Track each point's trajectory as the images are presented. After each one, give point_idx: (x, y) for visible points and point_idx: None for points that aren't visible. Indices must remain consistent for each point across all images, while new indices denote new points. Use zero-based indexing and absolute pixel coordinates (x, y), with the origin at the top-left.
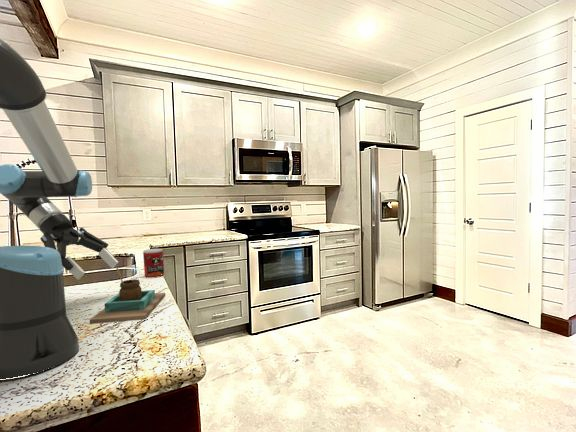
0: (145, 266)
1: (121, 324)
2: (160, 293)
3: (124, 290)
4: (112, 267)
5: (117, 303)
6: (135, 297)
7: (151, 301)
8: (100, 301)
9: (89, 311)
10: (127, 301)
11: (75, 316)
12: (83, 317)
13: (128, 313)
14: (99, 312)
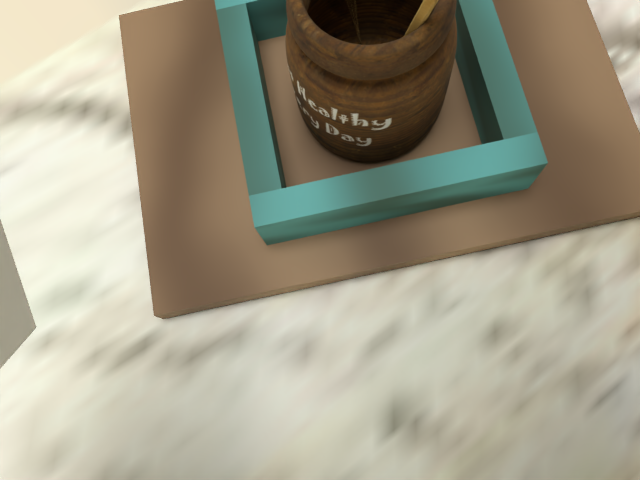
0: None
1: (637, 14)
2: (134, 36)
3: (453, 20)
4: (31, 315)
5: (516, 81)
6: (412, 6)
7: None
8: (211, 462)
9: (440, 386)
10: (487, 22)
11: (546, 424)
12: (559, 342)
13: (531, 24)
14: (532, 229)
